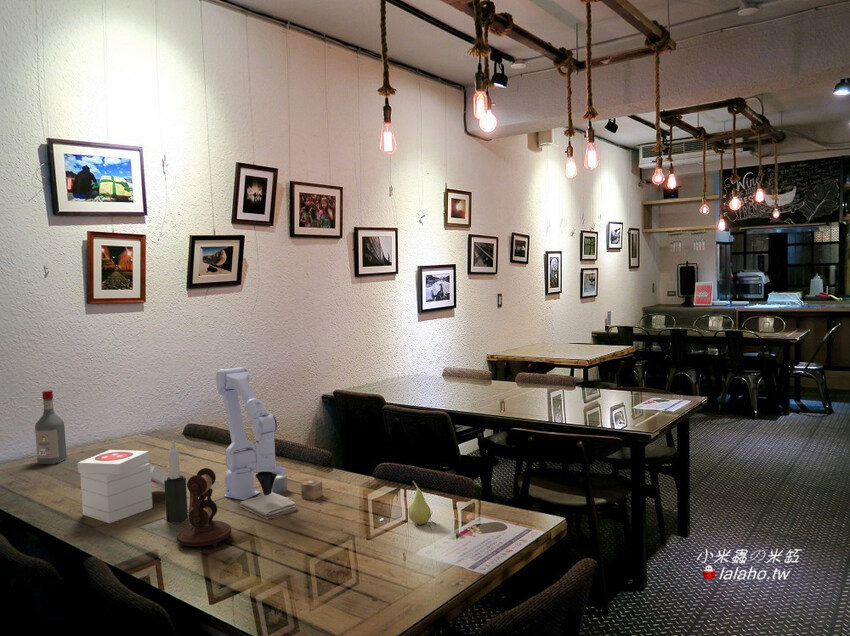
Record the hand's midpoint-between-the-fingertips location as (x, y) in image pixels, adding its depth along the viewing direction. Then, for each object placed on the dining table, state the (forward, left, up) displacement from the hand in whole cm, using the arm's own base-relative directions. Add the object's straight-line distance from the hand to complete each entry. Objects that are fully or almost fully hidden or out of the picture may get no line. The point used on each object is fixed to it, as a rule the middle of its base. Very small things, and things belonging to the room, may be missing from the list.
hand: (267, 494), depth 204 cm
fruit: (+51, +8, -5) cm, 52 cm away
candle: (-20, -19, -5) cm, 28 cm away
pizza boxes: (-44, -16, -5) cm, 47 cm away
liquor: (-122, +6, -5) cm, 122 cm away
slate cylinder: (-7, +14, -5) cm, 16 cm away
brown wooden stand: (0, -27, -5) cm, 27 cm away
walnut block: (+7, +14, -5) cm, 16 cm away
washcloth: (0, 0, -5) cm, 5 cm away
